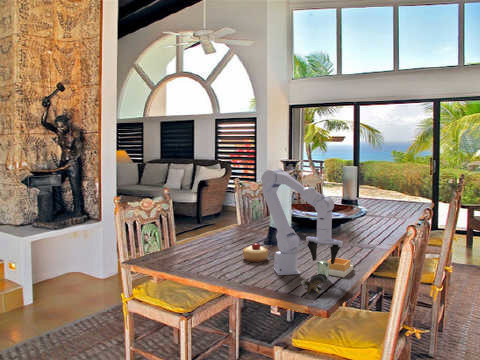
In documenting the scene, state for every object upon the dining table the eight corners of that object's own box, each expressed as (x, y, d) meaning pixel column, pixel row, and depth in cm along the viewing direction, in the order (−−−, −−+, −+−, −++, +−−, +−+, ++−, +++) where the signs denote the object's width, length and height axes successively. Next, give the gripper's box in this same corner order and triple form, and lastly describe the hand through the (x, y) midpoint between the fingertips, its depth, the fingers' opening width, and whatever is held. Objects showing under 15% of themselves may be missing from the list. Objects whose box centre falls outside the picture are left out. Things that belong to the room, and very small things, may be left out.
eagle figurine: (321, 295, 142) (331, 283, 149) (310, 277, 143) (321, 266, 150) (306, 301, 147) (316, 289, 154) (295, 284, 148) (306, 273, 155)
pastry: (266, 265, 181) (266, 245, 180) (240, 262, 184) (240, 243, 182) (269, 256, 193) (270, 238, 192) (245, 254, 195) (245, 236, 194)
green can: (319, 281, 159) (320, 264, 158) (315, 277, 163) (316, 260, 162) (330, 280, 160) (330, 263, 159) (326, 277, 164) (326, 260, 163)
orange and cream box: (343, 277, 164) (344, 266, 163) (322, 273, 168) (323, 262, 168) (353, 269, 174) (353, 259, 173) (332, 265, 178) (333, 255, 178)
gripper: (345, 228, 159) (344, 262, 160) (311, 224, 167) (310, 256, 168) (339, 232, 153) (338, 266, 154) (304, 227, 161) (303, 260, 162)
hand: (323, 261), depth 161 cm, fingers open, 7 cm apart
